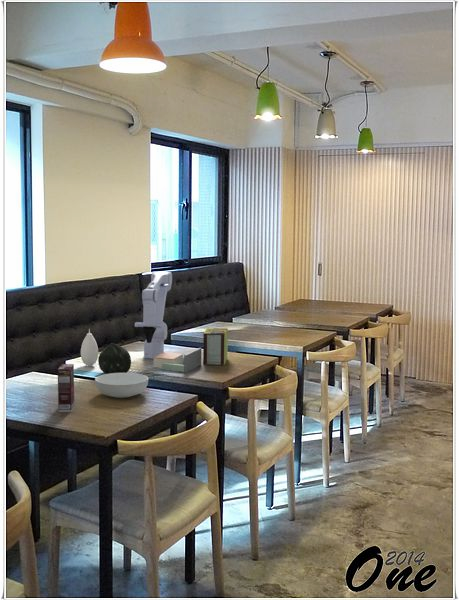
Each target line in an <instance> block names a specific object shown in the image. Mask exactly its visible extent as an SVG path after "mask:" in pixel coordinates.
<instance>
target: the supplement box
mask: <svg viewBox="0 0 459 600" xmlns="http://www.w3.org/2000/svg"><path fill="white" fill-rule="evenodd" d="M74 370H75V369H74V363H62V364H60V366H59V367H58V368H57V397H58V398H57V403H58V404H57V405H58V409H57V410H58V413H71V412H72V411H73V409H74V407H75V403H76V402H75V371H74Z"/></svg>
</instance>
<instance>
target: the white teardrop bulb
mask: <svg viewBox="0 0 459 600" xmlns="http://www.w3.org/2000/svg"><path fill="white" fill-rule="evenodd" d="M80 357H81V361H82V363H83V364H84V365H85V366H87V367H88V368H89V367H92V366H94V365H95V364H96V363H97V362H98V358H99V348H98V344H97V341H96V339H95V337H94V335H93V334H92V333H91V329H90V328H88V333H86V336H85V337H84V339H83V341H82V343H81V348H80Z"/></svg>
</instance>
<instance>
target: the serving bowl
mask: <svg viewBox="0 0 459 600" xmlns="http://www.w3.org/2000/svg"><path fill="white" fill-rule="evenodd" d="M94 381H95V386H96V389H97V390H98V392H100V393H101V394H103V395H104V396H108V397H112V398H114V399H115V398H116V399H126V398H131V397H134V396H137V395H139V394H141V393H143V392H144V391H145V390H146V388H147V386H148V384H149V377H148V376H147V375H145V374H141V373H135V372H127V373H110V374H100V375H98V376H96V377H95V378H94Z"/></svg>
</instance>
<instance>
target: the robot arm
mask: <svg viewBox="0 0 459 600" xmlns="http://www.w3.org/2000/svg"><path fill="white" fill-rule="evenodd" d="M150 275H151V276H150V277H151V278H150V281H151V282H150V283H148V285H147V286H146V288H145V289H143V290H142V292H141V299H142V301H141V302H142V306H143V314H142V315H143V316H142V317H143V318H142V320H143V321H142V322H139V321H136V322H134V327H135V328H139V327H140V328H142V332H143V334H144V336H145V340H144V345H143V357H142V358H144V359H151V360H152V359H153V360H154V358H153V357H155V356H157V355H159V354H161V353H163V352H165V349H164V348H165V347H164V346H165V345H164V344H165V340H166V339H167V338H168V326H167V324H166V322H164V321H163V320H164V314H165V308H166V301H167V294H168V292H169V291H171V289H172V284H173V273H172V271H152V272H151V274H150Z"/></svg>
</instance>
